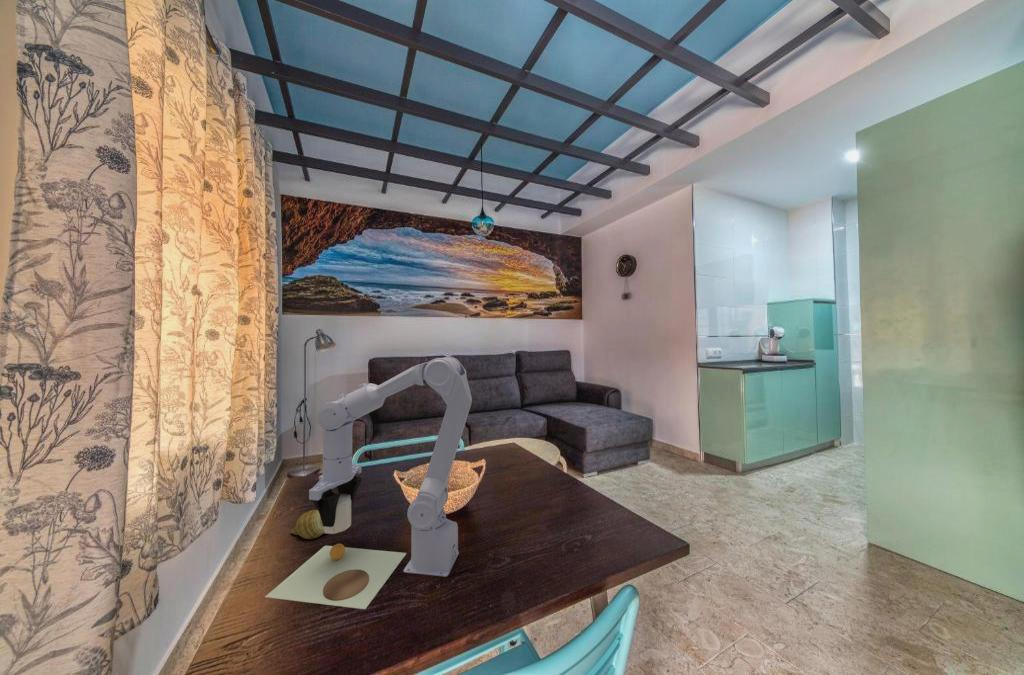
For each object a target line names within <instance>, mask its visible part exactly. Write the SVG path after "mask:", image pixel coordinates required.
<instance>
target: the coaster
mask: <svg viewBox="0 0 1024 675" xmlns="http://www.w3.org/2000/svg"><path fill="white" fill-rule="evenodd" d="M368 582H369V575H368V573H367V572H365V571H363V570H358V569H355V570H348V571H344V572H342V573H339V574H337V575H335V576H334V577H332V578H331V579H330V580H329V581H328V582H327V583H326V584H325V586H324V588H323V595H324V597H325V598H326V599H329V600H333V601H339V600H344V599H348V598H351V597H353V596H355V595H357V594H358V593H360V592H361V591H362V590H363V589H364V588H365V587H366V586H367V584H368Z"/></svg>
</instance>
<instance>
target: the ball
mask: <svg viewBox="0 0 1024 675" xmlns="http://www.w3.org/2000/svg"><path fill="white" fill-rule="evenodd" d="M332 546H333V547H332V548H331V550H330V557H331V559H333V560H338V559H340V558H341V557H342V556H343V555H344V553H345V547H346V546H345V545H344V544H343V543H336V544H334V545H332Z"/></svg>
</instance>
